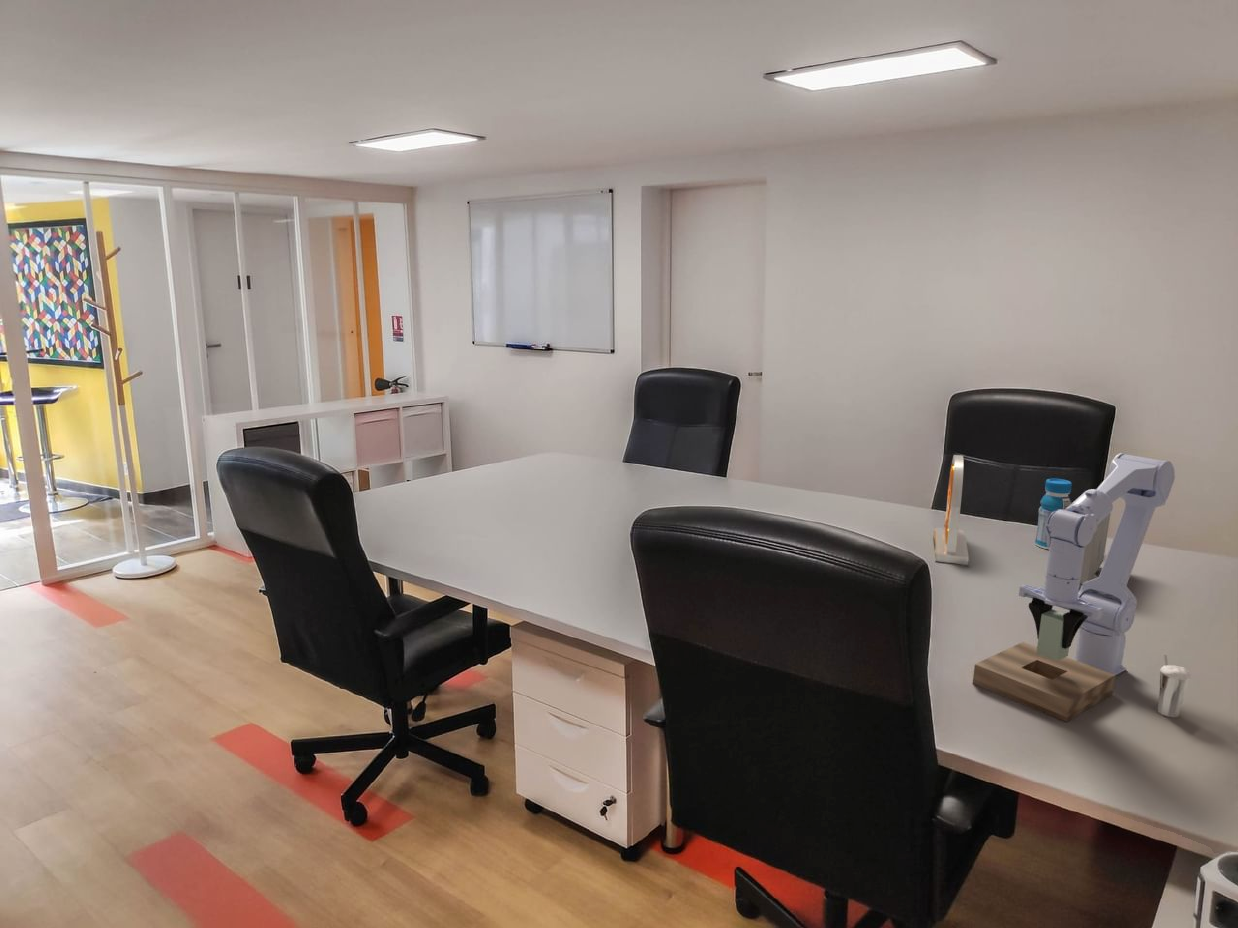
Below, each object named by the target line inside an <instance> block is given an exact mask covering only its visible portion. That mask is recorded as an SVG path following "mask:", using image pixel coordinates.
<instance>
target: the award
mask: <svg viewBox="0 0 1238 928" xmlns="http://www.w3.org/2000/svg"><path fill="white" fill-rule="evenodd" d="M964 468H965V467H964V455H960V454H953V456H952V461H951V466H950V471H949V478H948V485H947V486H948V488H947V497H946V499H947V500H946V509H945V510H946V512H945V515H944V525H943V527H938V526H936V527H935V528H934V530H933V532H932V540H933V541H932V542H933V551H934V558H935V562H940V563H945V564H946V563H948V564H956V565H965V566H968V565H969V559H970V557H969V550H968V545H967V539H966V534H965V530H964V529H959V523H960V516H961V515H960V514H961V507H962V506H961V505H962V496H963V485H964V484H963V483H964Z"/></svg>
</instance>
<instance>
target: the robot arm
mask: <svg viewBox="0 0 1238 928" xmlns="http://www.w3.org/2000/svg"><path fill="white" fill-rule="evenodd" d="M1175 477H1176V476H1175V467H1174V465H1173V463H1172V462H1171V461H1169V460H1161V459H1160V460H1159V459H1154V458H1150V457H1149V458H1148V457H1143V456H1137V455H1133V454H1132V455H1131V454H1127V453H1125V452H1120V453H1117V455H1115V457H1113V458H1112V461H1111V462H1110V464H1109V469H1108V475H1107V476H1106V477H1105V478H1104V480H1103V481H1102V482H1100V484H1099V485H1098V487H1097V488H1095V489H1094V488H1093V489H1092V488H1091V489H1088V490H1084V492H1083V493H1082V494H1081V495H1080V496H1078V497H1077V498H1076V499H1075V500H1074V501H1073V502H1071V503H1072V504H1071V505H1069V506H1068V507H1067V508H1066V509H1065V510H1062V509H1059V510H1058V511H1054V512H1052V513H1051V515H1050V516H1049V518H1048V521H1047V524H1046V525H1045V533H1046V536H1047V547H1048V548H1049V550H1048V554H1047V555H1048V556H1047V564H1046V572H1045V579H1044V580H1045V581H1044V585H1043V586H1044V587H1043V588H1042V587H1038V586H1032V585H1029V584H1023V585H1020V586H1019V590H1018V591H1019V592H1018V596H1019V597H1022V598H1026V597H1027V598H1029V599H1031V602H1029V603H1028V609H1029V611H1030V612H1031V616H1032V617H1033V621H1034V625H1035V629H1036V637H1037V639H1038V638H1039V630H1040V623H1041V616H1042V614H1043V613H1045V612H1048V611H1050V610H1053V607H1059V608H1061V609H1065V610H1067V611H1068V612H1064V613H1065V614H1063V621H1064V633H1063V639H1062V648H1064V649H1066V648H1068V647H1069V648H1070V647H1071V645H1072V644H1073V641H1074V638H1075V637H1076V634H1077V632H1078V634H1077V635H1078V636H1077V640H1076V642H1077V643H1076V648H1075V656H1074V660H1075V661H1078V662H1081V663H1084V664H1086V665H1089V666H1092V667H1095V668H1098V669H1100V670H1103V671H1106V672H1109V673H1112V674H1114V675H1115V677H1116V676H1117V675H1119V674H1121V673H1123V672H1124V671H1126V670H1127V669H1128V668H1127V667H1126V666H1125V665H1123V659H1124V653H1125V647H1126V642H1127V640H1126V638H1127V637H1126V633H1127V632H1129V631H1130V629H1131V628H1132V625H1133V624H1134V621H1135V616H1136V608H1137V605H1138V600H1137V598H1136V596H1135V595H1134V594H1133V593H1132V591H1131V589H1130V588H1128V582H1129V579H1130V577H1131V574H1132V573H1133V572H1132V571H1133V569H1134V566H1135V563H1136V561H1137V557H1138V555H1139V553H1140V550H1141V547H1142V545H1143V542H1144V539H1145V536H1146V534H1147V532H1148V530H1149V529H1148V528H1149V527H1150V523H1151V520H1152V518H1153V515H1154V513H1155V510H1156V508H1158V507H1161V506H1164V505H1166V502H1167V500H1168V499H1169V496H1170V493H1171V491H1172V488H1173V485H1174V482H1175ZM1119 498H1121V499H1122V500H1124V504H1125V507H1124V509H1123V511H1122V515H1121V517H1120V520H1119V523H1118V525H1117V528H1116V530H1115V533H1114V536H1113V539H1112V541H1111V544H1110V547H1109V548H1108V549H1109V550H1108V552H1107V555H1106V558H1105V560H1104V561H1103V562H1104V563H1103V565H1102V568H1101V569H1102V570H1101V572H1100V573H1099V576H1098V578H1096V579H1093V580H1090V581H1087V582H1084V583H1083V584H1082V587H1081V588H1079V586H1080V584H1081V583H1080V579H1081V572H1082V565H1083V558H1084V551H1085V546H1086V545H1087V544H1089V543H1090V541H1091V539H1092V537H1093V535H1094V533H1095V531H1096V529H1097V525H1098V524H1099V523H1100V522H1101V521H1102V520H1103V519H1104V518H1105V517H1107V516H1108V515H1109V514H1110V513H1111V514H1112V511H1113V508H1114V507H1113V503H1114V502H1115V501H1117V500H1118V499H1119ZM1111 514H1110V515H1111ZM1104 595H1105V596H1104ZM1110 597H1111V598H1110ZM1114 598H1115V599H1114Z"/></svg>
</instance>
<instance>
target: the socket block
mask: <svg viewBox="0 0 1238 928" xmlns="http://www.w3.org/2000/svg"><path fill="white" fill-rule="evenodd" d="M1036 653H1037V646H1036V645H1033V644H1030V643H1027V642H1025V641H1022V642H1020V643H1018V644H1014V646H1011V647H1009V648H1007V649H1005V650H1002V651H1001V652H998V653H996V654H994V655H992V656H990V657H987V658H985V659H983V660H980V661H978V662H977V663H974V669H973V676H972V684H973V685H976V686H978V687H981V688H983V689H986V690H988V691H991V692H993V693H995V694H997V695H1000V696H1003V697H1005V698H1007V699H1010V700H1011V701H1015V702H1016V703H1019V704H1022V705H1024V706H1026V707H1029V708H1032V709H1033V710H1035V711H1039V712H1040V713H1043V714H1046V715H1048V716H1050V717H1053V718H1055V719H1057V720H1060V721H1062V722H1064V723H1067V722H1068V721H1070V720H1073V719H1074V718H1076V717H1077V716H1079V715H1081V714H1082V713H1084V712H1085V711H1087V710H1089V709H1090V708H1093V706H1095V705H1097V704H1099V703H1101V702H1102V701H1104V700H1105V699H1107V698H1109V697H1110V696H1112V695H1113V692H1114V686H1115V680H1116V676H1115V675H1114V674H1112V673H1109V672H1106V671H1103V670H1100V669H1098V668H1095V667H1092V666H1089V665H1086V664H1084V663H1081V662H1078V661H1075V659H1072V658H1069V657H1068V656H1067V657H1065V658H1063V659H1061V660H1059V661H1055V660H1053V659H1050V658H1047V657H1044V656H1042V655H1039V654H1036Z"/></svg>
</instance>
